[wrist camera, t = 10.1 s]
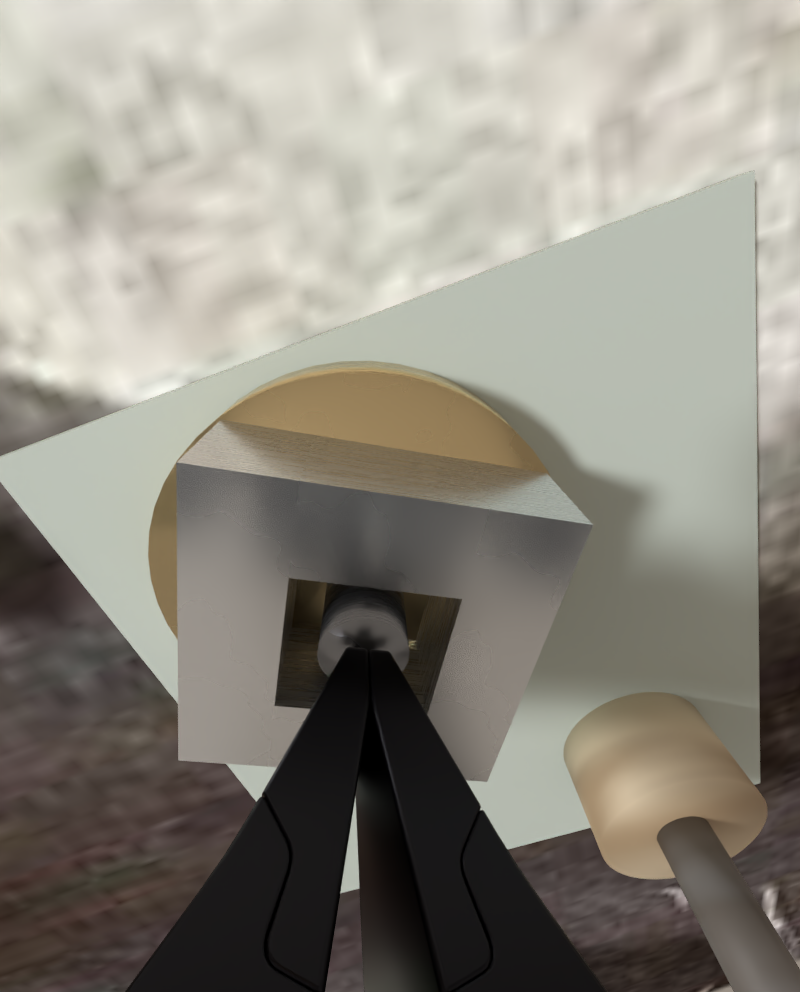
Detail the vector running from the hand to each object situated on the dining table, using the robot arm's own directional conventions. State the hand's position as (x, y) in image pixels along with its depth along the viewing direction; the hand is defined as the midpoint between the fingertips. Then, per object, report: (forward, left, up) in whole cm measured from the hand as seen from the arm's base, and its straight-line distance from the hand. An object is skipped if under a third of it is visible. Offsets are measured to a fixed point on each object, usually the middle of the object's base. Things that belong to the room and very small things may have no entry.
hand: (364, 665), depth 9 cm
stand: (-11, -6, -4) cm, 13 cm away
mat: (-5, -1, -4) cm, 7 cm away
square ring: (0, 0, -3) cm, 3 cm away
